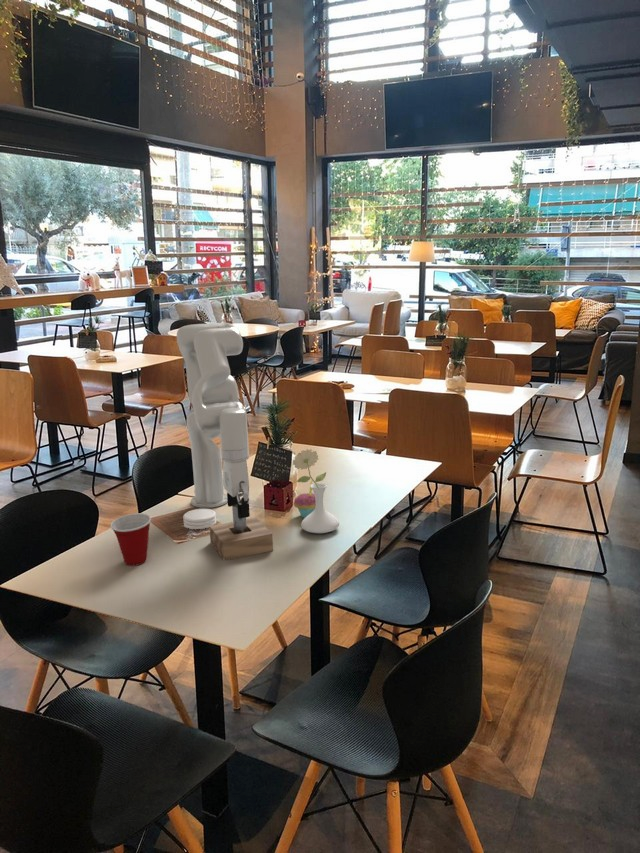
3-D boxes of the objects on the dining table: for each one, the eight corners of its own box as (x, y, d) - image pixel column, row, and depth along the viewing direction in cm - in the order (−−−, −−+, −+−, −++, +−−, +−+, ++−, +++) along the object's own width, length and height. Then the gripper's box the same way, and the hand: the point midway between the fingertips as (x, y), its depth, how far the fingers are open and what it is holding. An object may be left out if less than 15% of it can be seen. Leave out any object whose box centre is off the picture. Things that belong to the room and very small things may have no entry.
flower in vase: (338, 521, 214) (335, 442, 208) (340, 536, 203) (338, 453, 197) (295, 523, 214) (292, 444, 208) (295, 538, 203) (291, 455, 197)
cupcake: (326, 513, 221) (325, 477, 218) (311, 522, 214) (310, 485, 211) (304, 509, 226) (303, 473, 223) (289, 517, 219) (287, 481, 216)
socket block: (210, 542, 202) (209, 526, 201) (256, 533, 207) (255, 517, 206) (224, 560, 189) (223, 543, 188) (273, 550, 195) (272, 533, 193)
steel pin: (233, 545, 199) (230, 505, 196) (245, 542, 201) (242, 503, 198) (237, 549, 196) (234, 509, 193) (249, 547, 197) (246, 507, 195)
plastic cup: (105, 564, 189) (101, 523, 186) (136, 550, 198) (132, 510, 195) (133, 573, 183) (128, 530, 180) (163, 558, 192) (159, 517, 189)
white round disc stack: (199, 532, 210) (198, 521, 209) (177, 526, 216) (176, 515, 215) (223, 522, 217) (222, 511, 216) (201, 516, 223) (200, 505, 222)
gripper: (213, 447, 198) (217, 503, 203) (231, 464, 183) (234, 524, 187) (238, 443, 201) (241, 499, 206) (258, 459, 186) (261, 519, 190)
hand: (238, 511), depth 196 cm, fingers open, 9 cm apart
